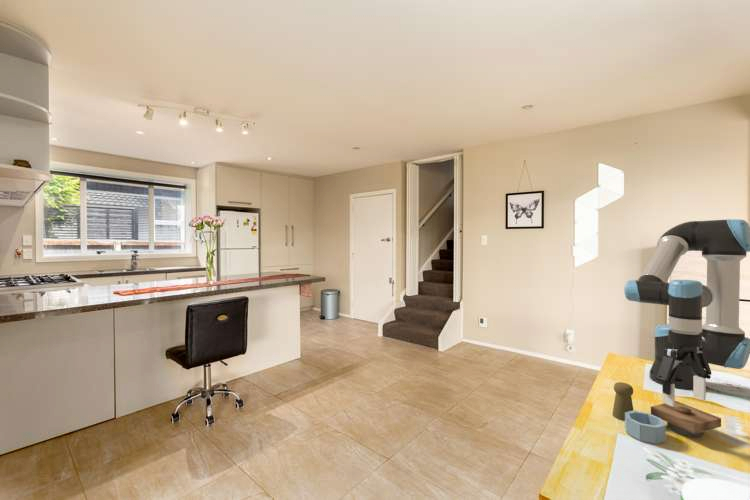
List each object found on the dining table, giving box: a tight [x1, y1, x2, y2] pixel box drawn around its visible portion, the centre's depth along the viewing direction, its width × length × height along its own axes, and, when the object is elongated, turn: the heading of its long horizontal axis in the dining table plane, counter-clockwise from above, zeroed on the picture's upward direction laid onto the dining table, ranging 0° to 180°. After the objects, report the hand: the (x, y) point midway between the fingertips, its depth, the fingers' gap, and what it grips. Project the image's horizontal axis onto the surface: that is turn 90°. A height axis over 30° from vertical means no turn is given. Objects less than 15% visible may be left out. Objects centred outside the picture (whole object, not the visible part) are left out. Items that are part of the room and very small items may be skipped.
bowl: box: [624, 410, 667, 445], centre depth 101 cm, size 9×9×5 cm
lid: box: [650, 400, 722, 434], centre depth 103 cm, size 12×12×4 cm
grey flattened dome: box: [666, 422, 704, 439], centre depth 103 cm, size 8×8×3 cm
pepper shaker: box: [612, 381, 635, 422], centre depth 111 cm, size 6×6×11 cm
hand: (684, 401), depth 103 cm, fingers open, 13 cm apart
